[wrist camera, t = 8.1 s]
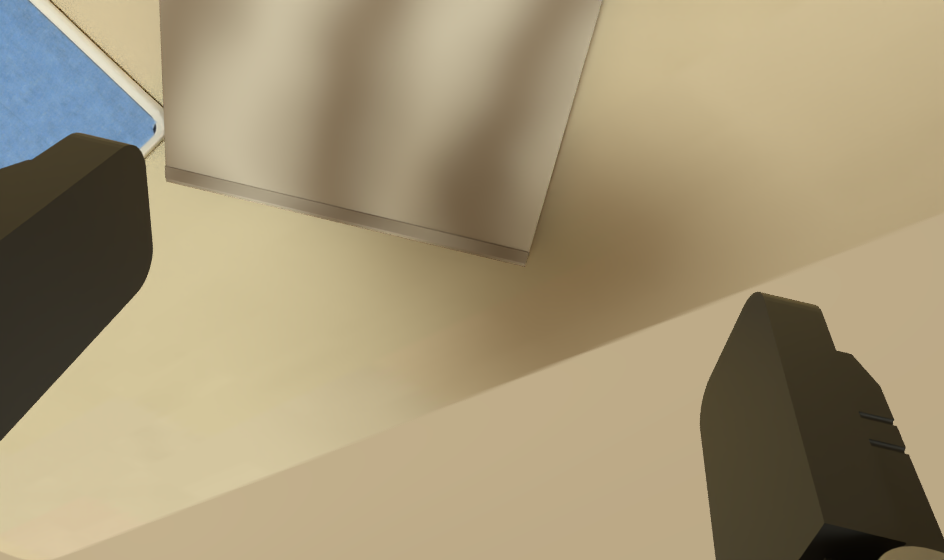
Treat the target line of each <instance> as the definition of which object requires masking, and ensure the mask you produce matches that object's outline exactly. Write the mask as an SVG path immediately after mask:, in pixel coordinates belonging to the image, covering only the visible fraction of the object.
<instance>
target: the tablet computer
mask: <svg viewBox="0 0 944 560" xmlns="http://www.w3.org/2000/svg"><path fill="white" fill-rule="evenodd" d="M76 132H77V133H84V134H88V135H93V136H97V137H101V138H105V139H110V140H114V141H118V142H123V143H127V144H131V145H134V146H137V147H138V148H139V149H140V150H141V152H142V154H143V156H144V158H145V157H146V156H147V155H148V154H149V153H150V152H151V151H152V150H153V149H154V148H155V147H156V146H157V145H158V144H159V143H160V142H161V141H162V140H163V139H164V138H165V136H164V110H163V108H162V107H161V106H160V105H159V104H158V103H157V102H156V101H155V100H154V99H153V98H152V97H150V96H149V95H148V94H147V93H146V92H145V91H144V90H143V89H142V88H141V87H140V86H139V85H138V84H137V83H136V82H135V81H133V80H132V79H131V78H130V77H129V76H128V75H127V74H126V73H125V72H124V71H123V70H122V69H121V68H120V67H119V66H117V65H116V64H115V63H114V62H113V61H112V60H111V59H110V58H109V57H108V56H107V55H106V54H105V53H104V52H103V51H102V50H100V49H99V48H98V47H97V46H96V45H95V44H94V43H93V42H92V41H91V40H90V39H89V38H88V37H87V36H86V35H85V34H84V33H83V32H81V31H80V30H79V29H78V28H77V27H76V26H75V25H74V24H73V23H72V22H71V21H70V20H69V19H68V18H67V17H66V16H65V15H64V14H63V13H62V12H61V11H60V10H58V9H57V8H56V7H55V6H54V5H53V4H52V3H51V2H50V1H49V0H0V169H1V168H4V167H7V166H10V165H13V164H16V163H19V162H22V161H26V160H32V159H33V158H35V157H36V156H38V155H39V154H41V153H42V152H44V151H45V150H47V149H48V148H50V147H51V146H53V145H54V144H56V143H57V142H59V141H60V140H62V139H63V138H65V137H66V136H68V135H70V134H72V133H76Z"/></svg>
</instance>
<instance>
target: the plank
mask: <svg viewBox="0 0 944 560" xmlns="http://www.w3.org/2000/svg"><path fill="white" fill-rule="evenodd" d="M601 3H602V0H159V5H160V31H161V57H162V84H163V110H164V136H165V162H166V166H165V178H166V182H171V183H175V184H179V185H183V186H188V187H192V188H196V189H200V190H204V191H209V192H213V193H217V194H221V195H225V196H230V197H234V198H238V199H242V200H246V201H251V202H255V203H259V204H263V205H267V206H272V207H276V208H280V209H284V210H289V211H293V212H297V213H301V214H305V215H310V216H314V217H318V218H322V219H326V220H331V221H335V222H339V223H343V224H347V225H352V226H356V227H360V228H364V229H369V230H373V231H377V232H381V233H385V234H390V235H394V236H398V237H402V238H406V239H411V240H415V241H419V242H423V243H427V244H432V245H436V246H440V247H444V248H449V249H453V250H457V251H461V252H465V253H470V254H474V255H478V256H482V257H486V258H491V259H495V260H499V261H503V262H507V263H512V264H516V265H520V266H524V267H525V265H526V262H527V259H528V255H529V251H530V248H531V244H532V241H533V238H534V234H535V231H536V227H537V224H538V220H539V217H540V213H541V210H542V207H543V203H544V200H545V196H546V193H547V189H548V186H549V182H550V179H551V176H552V172H553V169H554V165H555V162H556V158H557V155H558V151H559V148H560V145H561V141H562V138H563V134H564V131H565V127H566V124H567V120H568V117H569V114H570V110H571V107H572V103H573V100H574V96H575V93H576V89H577V86H578V83H579V79H580V76H581V72H582V69H583V65H584V62H585V59H586V55H587V52H588V48H589V45H590V41H591V38H592V34H593V31H594V28H595V24H596V21H597V17H598V14H599V10H600V7H601Z"/></svg>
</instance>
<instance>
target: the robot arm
mask: <svg viewBox="0 0 944 560" xmlns="http://www.w3.org/2000/svg"><path fill="white" fill-rule="evenodd" d="M152 254H153V243H152V232H151V220H150V209H149V198H148V186H147V175H146V165H145V160H144V156H143V154H142V152H141V150H140V149H139V148H138V147H137V146H134V145H131V144H127V143H123V142H118V141H114V140H110V139H105V138H101V137H97V136H93V135H88V134H84V133H77V132H76V133H72V134H70V135H68V136H66V137H65V138H63V139H62V140H60V141H59V142H57V143H56V144H54V145H53V146H51V147H50V148H48V149H47V150H45V151H44V152H42V153H41V154H39V155H38V156H36V157H35V158H33V159H32V160H26V161H22V162H19V163H16V164H13V165H10V166H7V167H4V168H1V169H0V441H1V440H2V439H3V438H4V437H5V435H6V434H7V433H8V432H9V431H10V430H11V429H12V428H13V427H14V426H15V425H16V423H17V422H18V421H19V420H20V419H21V418H22V417H23V416H24V415H25V414H26V413H27V412H28V410H29V409H30V408H31V407H32V406H33V405H34V404H35V403H36V402H37V401H38V400H39V399H40V397H41V396H42V395H43V394H44V393H45V392H46V391H47V390H48V389H49V388H50V387H51V386H52V384H53V383H54V382H55V381H56V380H57V379H58V378H59V377H60V376H61V375H62V374H63V373H64V371H65V370H66V369H67V368H68V367H69V366H70V365H71V364H72V363H73V362H74V361H75V359H76V358H77V357H78V356H79V355H80V354H81V353H82V352H83V351H84V350H85V349H86V348H87V346H88V345H89V344H90V343H91V342H92V341H93V340H94V339H95V338H96V337H97V336H98V335H99V333H100V332H101V331H102V330H103V329H104V328H105V327H106V326H107V325H108V324H109V323H110V322H111V320H112V319H113V318H114V317H115V316H116V315H117V314H118V313H119V312H120V311H121V310H122V309H123V307H124V306H125V305H126V304H127V303H128V302H129V301H130V300H131V299H132V298H133V297H134V296H135V294H136V293H137V292H138V291H139V290H140V288H141V287H142V285H143V283H144V282H145V280H146V277H147V275H148V272H149V269H150V265H151V261H152ZM893 421H894V418H893V416H892V414H891V411H890V409H889V406H888V404H887V402H886V399H885V397H884V394H883V392H882V390H881V387H880V386H879V385H878V383H877V382H876V381H875V380H874V379H873V378H872V377H871V376H870V375H869V373H868V372H867V371H866V370H865V369H864V368H863V367H862V365H861V364H860V363H859V362H858V361H857V360H856V359H855V358H854V356H853V355H852V354H848V353H844V352H840V351H836V349H835V346H834V344H833V341H832V338H831V335H830V333H829V330H828V327H827V325H826V322H825V319H824V317H823V314H822V311H821V309H819V307H818V306H816V305H813V304H809V303H804V302H800V301H795V300H791V299H787V298H783V297H778V296H774V295H770V294H766V293H761V292H755V293H753V294H752V295H751V296H750V298H749V299H748V300H747V302H746V303H745V305H744V307H743V309H742V311H741V313H740V315H739V317H738V319H737V322H736V324H735V326H734V328H733V330H732V332H731V334H730V336H729V338H728V341H727V343H726V345H725V347H724V349H723V351H722V353H721V355H720V357H719V360H718V362H717V364H716V366H715V368H714V370H713V372H712V374H711V377H710V379H709V381H708V383H707V386H706V389H705V393H704V396H703V401H702V406H701V413H700V431H701V439H702V447H703V456H704V464H705V472H706V481H707V490H708V498H709V506H710V514H711V522H712V531H713V540H714V548H715V556H716V560H944V538H943V536H942V533H941V531H940V528H939V526H938V523H937V521H936V519H935V517H934V514H933V511H932V509H931V507H930V504H929V502H928V499H927V497H926V495H925V492H924V490H923V488H922V485H921V483H920V480H919V478H918V476H917V473H916V471H915V468H914V466H913V464H912V461H911V459H910V457H909V455H908V454H905V453H904V451H905V445H904V442H903V440H902V438H901V435H900V433H899V430H898V428H897V426H894V425H893Z"/></svg>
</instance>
